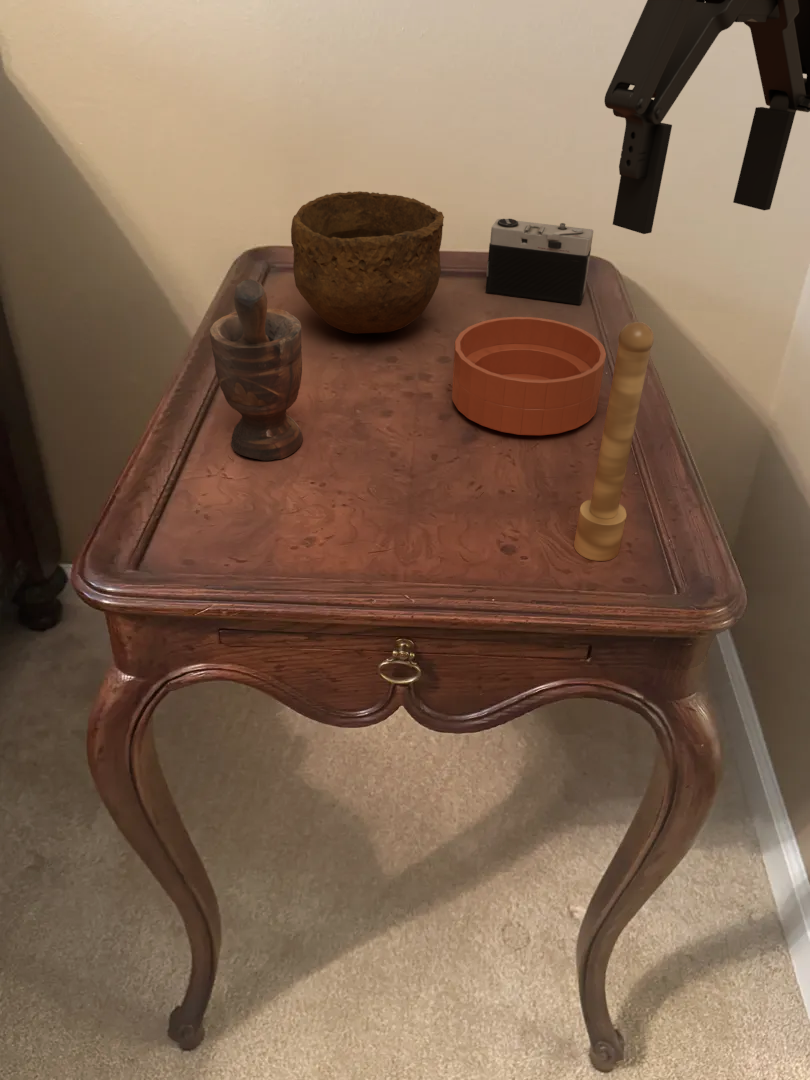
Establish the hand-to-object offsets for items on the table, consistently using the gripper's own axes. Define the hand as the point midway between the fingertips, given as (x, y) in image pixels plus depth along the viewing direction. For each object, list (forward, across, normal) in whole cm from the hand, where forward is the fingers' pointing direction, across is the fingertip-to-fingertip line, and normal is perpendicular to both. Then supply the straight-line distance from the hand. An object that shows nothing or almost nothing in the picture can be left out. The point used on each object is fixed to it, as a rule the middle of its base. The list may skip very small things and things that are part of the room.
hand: (694, 217), depth 62 cm
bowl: (+27, -10, -52) cm, 59 cm away
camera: (+25, -37, -48) cm, 66 cm away
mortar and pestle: (+29, +16, -33) cm, 47 cm away
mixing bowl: (+27, -12, -25) cm, 39 cm away
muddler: (+29, +1, -2) cm, 29 cm away
